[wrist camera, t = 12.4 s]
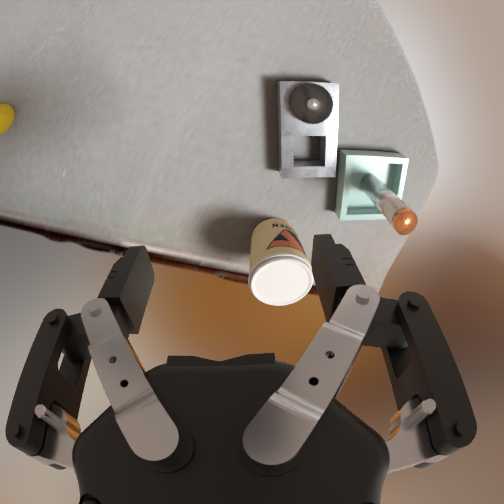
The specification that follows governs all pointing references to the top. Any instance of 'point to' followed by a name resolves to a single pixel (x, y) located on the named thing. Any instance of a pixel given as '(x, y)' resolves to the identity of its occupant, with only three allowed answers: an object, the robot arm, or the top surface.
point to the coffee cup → (278, 264)
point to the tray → (354, 169)
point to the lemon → (6, 117)
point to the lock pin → (389, 204)
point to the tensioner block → (307, 126)
